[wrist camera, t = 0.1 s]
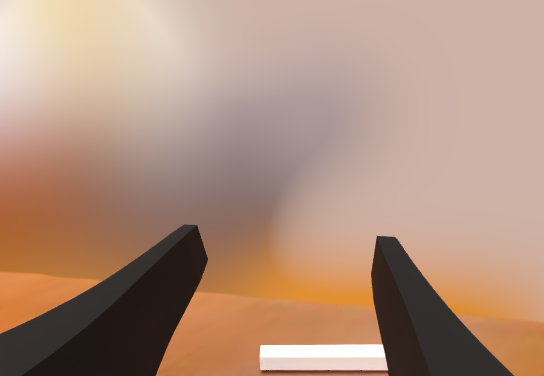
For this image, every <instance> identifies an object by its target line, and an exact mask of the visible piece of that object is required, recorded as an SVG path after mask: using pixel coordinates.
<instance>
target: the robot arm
mask: <svg viewBox="0 0 544 376" xmlns="http://www.w3.org/2000/svg"><path fill="white" fill-rule="evenodd" d="M207 261H208V258H207V255H206V252H205V248H204V245H203V242H202V239H201V236H200V233H199V230H198V227H197V225H183V226H182V227H180V228H178V229H177V230H175V231H174V232H173V233H171V234H170V235H169V236H167V237H166V238H164V239H163V240H162V241H160V242H159V243H158V244H156V245H155V246H154V247H152V248H151V249H149V250H148V251H147V252H145V253H144V254H142V255H141V256H140V257H138V258H137V259H135V260H134V261H132V262H131V263H130V264H128V265H127V266H125V267H124V268H122V269H121V270H119V271H118V272H116V273H115V274H113V275H112V276H110V277H109V278H107V279H106V280H104V281H102V282H101V283H99V284H97V285H96V286H94V287H92V288H90V289H89V290H87V291H85V292H84V293H82V294H80V295H78V296H77V297H75V298H73V299H71V300H69V301H67V302H65V303H63V304H61V305H59V306H58V307H56V308H54V309H52V310H50V311H48V312H46V313H44V314H42V315H40V316H38V317H36V318H34V319H32V320H30V321H28V322H25V323H23V324H21V325H19V326H17V327H15V328H12V329H10V330H8V331H6V332H3V333H1V334H0V376H156V373H157V371H158V368H159V366H160V363H161V361H162V358H163V356H164V353H165V351H166V349H167V346H168V344H169V342H170V340H171V337H172V335H173V333H174V331H175V329H176V327H177V325H178V323H179V322H180V320H181V318H182V316H183V314H184V312H185V310H186V308H187V306H188V304H189V302H190V300H191V299H192V297H193V295H194V293H195V291H196V289H197V286H198V285H199V283H200V280H201V278H202V275H203V273H204V270H205V267H206V264H207ZM371 277H372V288H373V299H374V305H375V310H376V315H377V320H378V324H379V329H380V334H381V339H382V344H383V348H384V353H385V358H386V363H387V368H388V373H389V376H514V375H513V374H512V373H511V372H510V371H509V370H508V369H507V368H506V367H505V366H504V365H503V364H502V363H501V362H500V361H499V360H498V359H496V358H495V357H494V356H493V355H492V354H491V353H490V352H489V351H488V350H487V348H486V347H485V346H484V345H483V344H482V343H481V342H480V341H479V340H478V339H477V338H476V337H475V336H474V335H473V334H472V333H471V332H470V331H469V330H468V329H467V327H466V326H465V325H464V324H463V323H462V322H461V321H460V320H459V319H458V317H457V316H456V315H455V314H454V313H453V312H452V311H451V309H450V308H448V306H447V305H446V304H445V302H444V301H443V300H442V299H441V298H440V296H439V295H438V294H437V293H436V292H435V290H434V289H433V288H432V286H431V285H430V284H429V283H428V281H427V280H426V279H425V278H424V277H423V275H422V274H421V272H420V271H419V270H418V268H417V267H416V266H415V264H414V263H413V261H412V260H411V259H410V257H409V256H408V254H407V253H406V252H405V250H404V248H403V247H402V246H401V244H400V243H399V241H398V239H396V238H395V237H385V236H377V239H376V245H375V252H374V259H373V265H372V272H371Z"/></svg>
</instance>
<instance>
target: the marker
mask: <svg viewBox="0 0 544 376" xmlns="http://www.w3.org/2000/svg"><path fill="white" fill-rule="evenodd" d="M260 370H388V368H387V363H386V358H385V353H384V348H383V345H261V348H260Z"/></svg>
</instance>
